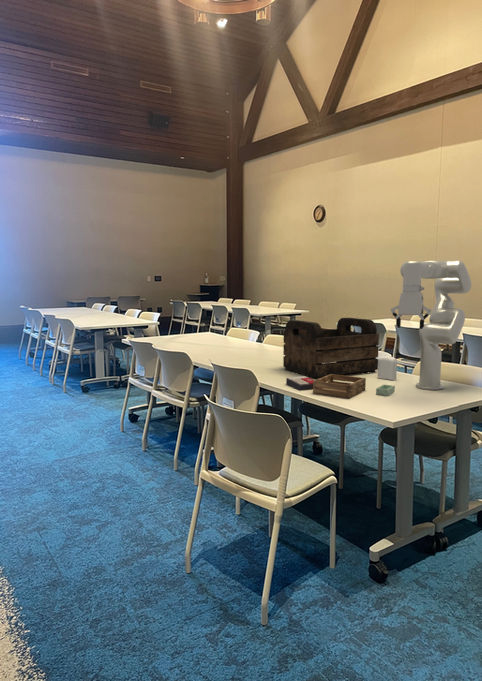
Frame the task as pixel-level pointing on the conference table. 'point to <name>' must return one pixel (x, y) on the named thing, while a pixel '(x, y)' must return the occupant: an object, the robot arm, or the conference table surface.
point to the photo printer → (387, 368)
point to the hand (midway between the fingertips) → (409, 328)
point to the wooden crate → (330, 348)
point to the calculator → (300, 383)
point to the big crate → (339, 386)
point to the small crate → (385, 390)
